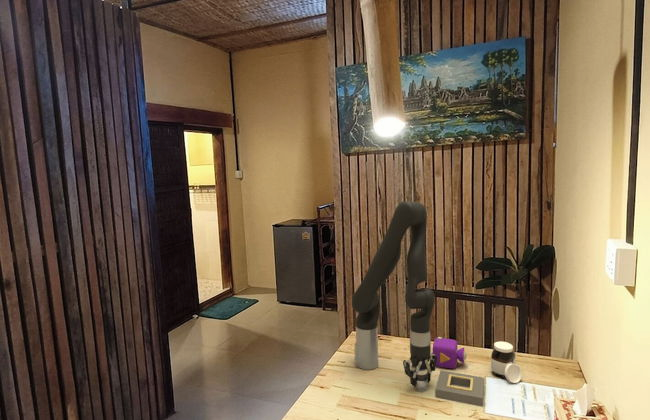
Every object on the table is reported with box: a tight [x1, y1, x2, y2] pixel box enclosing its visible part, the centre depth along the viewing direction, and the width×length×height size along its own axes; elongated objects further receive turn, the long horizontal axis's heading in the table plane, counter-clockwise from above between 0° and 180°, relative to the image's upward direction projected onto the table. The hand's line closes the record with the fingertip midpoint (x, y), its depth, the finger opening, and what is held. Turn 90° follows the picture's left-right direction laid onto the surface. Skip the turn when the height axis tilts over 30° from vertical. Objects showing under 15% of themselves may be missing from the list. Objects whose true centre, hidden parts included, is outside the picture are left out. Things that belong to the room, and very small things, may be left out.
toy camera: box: [432, 336, 468, 370], centre depth 166 cm, size 11×14×10 cm
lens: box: [413, 367, 429, 393], centre depth 149 cm, size 5×5×8 cm
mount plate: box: [434, 370, 485, 407], centre depth 146 cm, size 16×14×4 cm
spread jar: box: [490, 341, 523, 384], centre depth 155 cm, size 12×11×12 cm
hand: (420, 383), depth 149 cm, fingers open, 5 cm apart
